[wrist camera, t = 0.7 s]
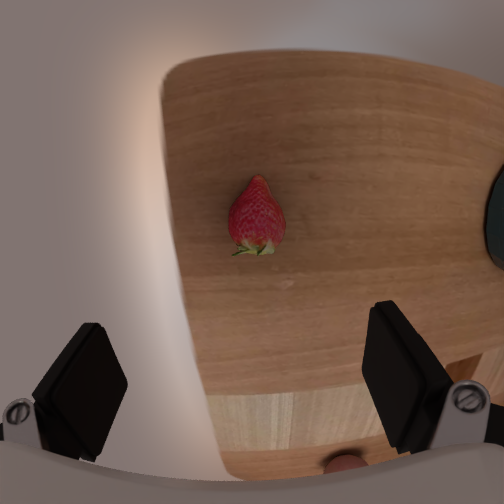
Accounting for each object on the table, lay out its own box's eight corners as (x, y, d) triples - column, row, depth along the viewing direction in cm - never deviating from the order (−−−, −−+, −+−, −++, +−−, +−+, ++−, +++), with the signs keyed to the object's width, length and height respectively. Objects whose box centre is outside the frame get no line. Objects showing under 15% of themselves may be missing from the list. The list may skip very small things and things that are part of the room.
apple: (372, 454, 38) (383, 491, 30) (332, 471, 39) (339, 508, 32) (354, 440, 35) (366, 482, 28) (310, 459, 37) (316, 500, 29)
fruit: (289, 177, 23) (300, 187, 18) (278, 249, 25) (284, 275, 20) (235, 170, 22) (230, 177, 18) (226, 243, 24) (220, 267, 20)
